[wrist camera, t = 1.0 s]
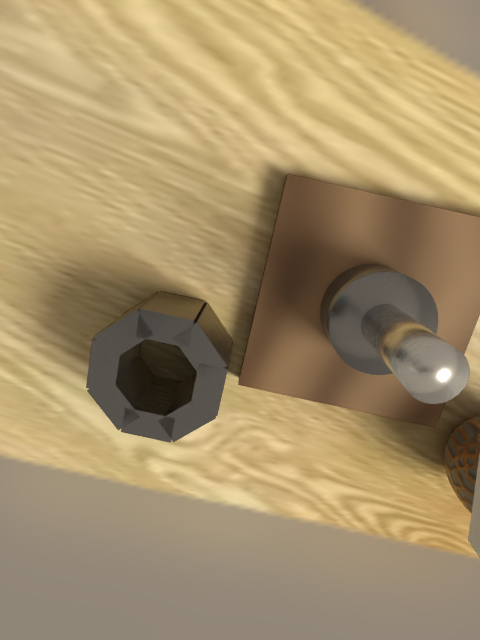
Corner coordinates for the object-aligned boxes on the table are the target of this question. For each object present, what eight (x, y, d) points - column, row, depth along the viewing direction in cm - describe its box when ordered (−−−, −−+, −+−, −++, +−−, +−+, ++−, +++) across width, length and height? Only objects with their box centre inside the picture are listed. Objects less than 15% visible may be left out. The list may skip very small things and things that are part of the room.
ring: (110, 388, 30) (81, 423, 25) (125, 283, 27) (97, 299, 23) (217, 411, 30) (209, 450, 25) (240, 308, 28) (236, 329, 23)
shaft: (309, 343, 27) (341, 425, 17) (334, 254, 25) (386, 285, 15) (397, 362, 27) (482, 455, 17) (427, 275, 25) (541, 319, 15)
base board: (239, 377, 29) (238, 384, 28) (286, 175, 25) (287, 173, 24) (428, 418, 29) (435, 427, 28) (503, 224, 25) (514, 225, 24)
